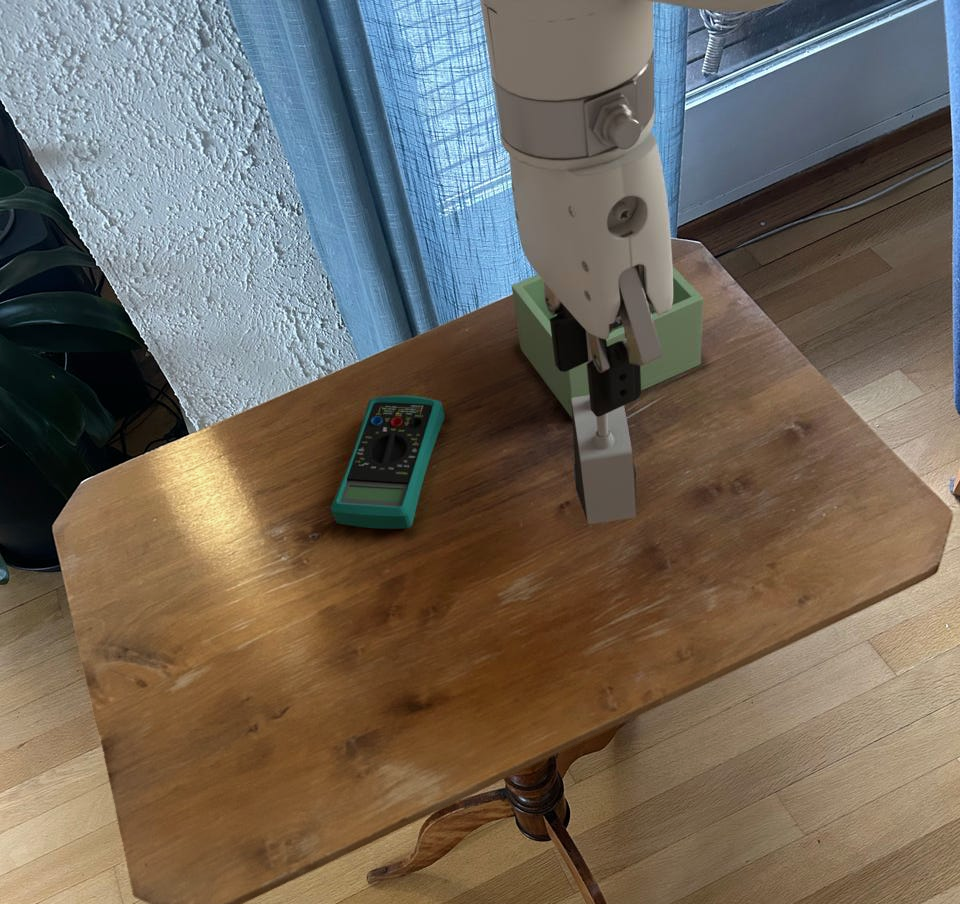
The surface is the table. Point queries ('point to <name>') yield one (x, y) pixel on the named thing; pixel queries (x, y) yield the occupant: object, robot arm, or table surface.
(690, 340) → the holder
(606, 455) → the padlock
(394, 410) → the digital multimeter
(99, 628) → the table surface
